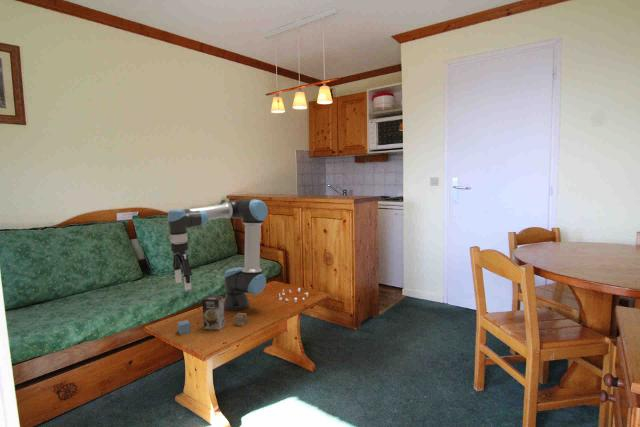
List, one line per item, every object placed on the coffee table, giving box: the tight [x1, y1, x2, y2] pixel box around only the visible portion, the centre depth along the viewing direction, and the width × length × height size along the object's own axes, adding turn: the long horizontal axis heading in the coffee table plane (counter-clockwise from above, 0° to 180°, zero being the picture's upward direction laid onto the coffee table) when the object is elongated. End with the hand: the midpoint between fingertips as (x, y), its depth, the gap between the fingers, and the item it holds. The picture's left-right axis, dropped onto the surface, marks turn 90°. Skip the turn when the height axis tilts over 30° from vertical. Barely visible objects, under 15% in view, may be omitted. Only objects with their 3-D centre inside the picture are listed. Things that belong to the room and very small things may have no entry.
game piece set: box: [278, 287, 309, 303], centre depth 237 cm, size 19×20×4 cm
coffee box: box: [201, 295, 225, 330], centre depth 194 cm, size 9×6×16 cm
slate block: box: [176, 319, 192, 336], centre depth 190 cm, size 5×5×5 cm
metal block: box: [233, 312, 248, 327], centre depth 198 cm, size 5×5×5 cm
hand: (183, 286), depth 177 cm, fingers open, 13 cm apart
